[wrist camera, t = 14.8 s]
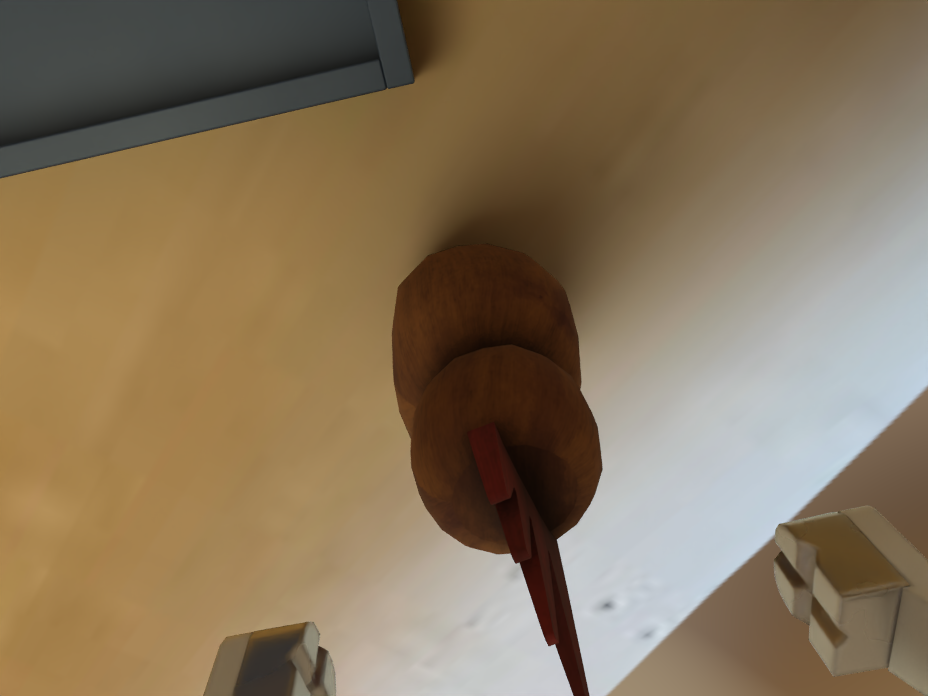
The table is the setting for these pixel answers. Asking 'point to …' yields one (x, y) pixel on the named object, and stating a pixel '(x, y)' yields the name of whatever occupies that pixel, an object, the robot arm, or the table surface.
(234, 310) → the table surface
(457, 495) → the wooden figurine
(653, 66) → the table surface
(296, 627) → the robot arm
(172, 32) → the tray
